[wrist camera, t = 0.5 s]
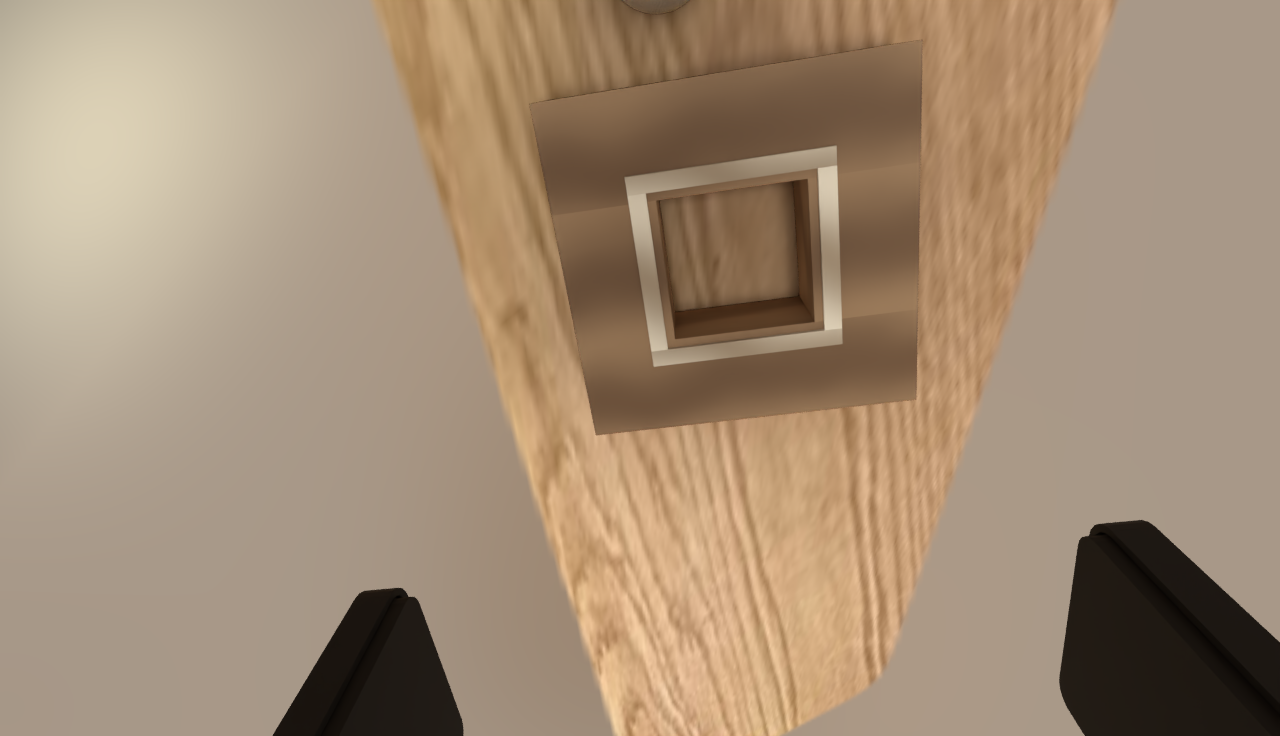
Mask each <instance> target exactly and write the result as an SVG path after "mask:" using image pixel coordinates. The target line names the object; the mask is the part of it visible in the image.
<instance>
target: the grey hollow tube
mask: <svg viewBox="0 0 1280 736" xmlns="http://www.w3.org/2000/svg"><path fill="white" fill-rule="evenodd" d="M623 1H624V2H625V3H626V4H627V5H629V6H630V7H632V8H634V9H636V10H638V11H640V12H643V13H648V14H664V13H668V12H671V11H674V10H676V9H678V8H680V7H681V6H683V5H684V4H685V3H687V2H688V1H689V0H623Z"/></svg>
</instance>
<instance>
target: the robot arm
mask: <svg viewBox="0 0 1280 736" xmlns="http://www.w3.org/2000/svg"><path fill="white" fill-rule="evenodd" d="M1059 683H1060V690H1061V693H1062V697H1063V699H1064V702H1065V704H1066V706H1067V708H1068V709H1069V711H1070V713H1071V715H1072V716H1073V717H1074V719H1075V721H1076V723H1077V724H1078V726H1079V727H1080V729H1081V730H1082V732H1083V734H1084V735H1085V736H1280V642H1279V641H1278V640H1277V639H1275V638H1274V637H1273V636H1272V635H1271V634H1270V633H1269V632H1268V631H1267V630H1266V629H1265V628H1264V627H1262V626H1261V625H1260V624H1259V623H1258V622H1257V621H1256V620H1255V619H1254V618H1253V617H1252V616H1251V615H1250V614H1249V613H1247V612H1246V611H1245V610H1244V609H1243V608H1242V607H1241V606H1240V605H1239V604H1238V603H1237V602H1236V601H1235V600H1233V599H1232V598H1231V597H1230V596H1229V595H1228V594H1227V593H1226V592H1225V591H1224V590H1222V588H1220V587H1219V586H1218V585H1217V584H1216V583H1215V582H1214V581H1213V580H1212V579H1211V578H1210V577H1209V576H1208V575H1207V574H1205V573H1204V572H1203V571H1202V570H1201V569H1200V568H1199V567H1198V566H1197V565H1196V564H1195V563H1194V562H1192V561H1191V560H1190V559H1189V558H1188V557H1187V556H1186V555H1185V554H1184V553H1183V552H1182V551H1181V550H1180V549H1178V548H1177V547H1176V546H1175V545H1174V544H1173V543H1172V542H1171V541H1170V540H1169V539H1168V538H1167V537H1165V536H1164V535H1163V534H1162V533H1161V532H1160V531H1159V530H1158V529H1157V528H1156V527H1155V526H1153V525H1152V524H1151V523H1149V522H1147V521H1143V520H1138V521H1127V522H1115V523H1105V524H1097V525H1094V527H1093V528H1092V529H1091V531H1090V535H1089V536H1085V537H1082V538H1081V539H1080V540H1079V544H1078V549H1077V556H1076V563H1075V571H1074V577H1073V585H1072V592H1071V600H1070V606H1069V613H1068V621H1067V627H1066V635H1065V642H1064V649H1063V656H1062V663H1061V671H1060V679H1059ZM273 736H463V723H462V719H461V716H460V713H459V711H458V708H457V705H456V702H455V700H454V697H453V694H452V692H451V689H450V686H449V683H448V681H447V678H446V675H445V672H444V669H443V667H442V664H441V661H440V659H439V656H438V653H437V650H436V648H435V645H434V642H433V639H432V637H431V634H430V631H429V628H428V626H427V623H426V620H425V617H424V615H423V612H422V609H421V607H420V604H419V602H418V600H417V599H416V598H415V597H408V595H407V593H406V592H405V591H404V590H403V589H402V588H392V589H381V590H370V591H363V592H361V593H359V595H358V596H357V597H356V598H355V600H354V601H353V603H352V605H351V607H350V608H349V610H348V612H347V613H346V615H345V616H344V618H343V620H342V621H341V623H340V625H339V626H338V628H337V630H336V631H335V633H334V635H333V636H332V638H331V640H330V641H329V643H328V645H327V646H326V648H325V650H324V651H323V653H322V654H321V656H320V658H319V659H318V661H317V663H316V665H315V666H314V668H313V670H312V671H311V673H310V674H309V676H308V678H307V679H306V681H305V683H304V684H303V686H302V688H301V689H300V691H299V693H298V694H297V696H296V698H295V699H294V701H293V703H292V704H291V706H290V708H289V709H288V711H287V713H286V714H285V716H284V718H283V719H282V721H281V722H280V724H279V726H278V727H277V729H276V731H275V733H274V734H273Z"/></svg>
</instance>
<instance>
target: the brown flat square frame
mask: <svg viewBox="0 0 1280 736" xmlns="http://www.w3.org/2000/svg"><path fill="white" fill-rule="evenodd" d="M922 47H923V40H917V41H911V42H904V43H897V44H890V45H884V46H878V47H872V48H866V49H860V50H854V51H847V52H841V53H835V54H829V55H823V56H817V57H811V58H805V59H798V60H792V61H786V62H780V63H774V64H768V65H762V66H756V67H749V68H743V69H737V70H731V71H725V72H719V73H713V74H706V75H700V76H694V77H688V78H682V79H676V80H670V81H664V82H657V83H651V84H645V85H639V86H633V87H627V88H621V89H615V90H608V91H602V92H596V93H590V94H584V95H578V96H572V97H566V98H559V99H553V100H547V101H542V102H536V103H531V104H529V105H530V110H531V115H532V120H533V125H534V130H535V135H536V140H537V145H538V150H539V155H540V160H541V165H542V170H543V175H544V180H545V185H546V190H547V195H548V199H549V204H550V209H551V214H552V219H553V224H554V229H555V234H556V239H557V244H558V249H559V254H560V259H561V264H562V269H563V274H564V279H565V284H566V289H567V294H568V299H569V304H570V309H571V314H572V319H573V324H574V329H575V334H576V339H577V344H578V348H579V353H580V358H581V363H582V368H583V373H584V378H585V383H586V388H587V393H588V398H589V403H590V408H591V413H592V418H593V423H594V428H595V433H596V435H603V434H612V433H621V432H630V431H639V430H648V429H657V428H666V427H675V426H684V425H693V424H702V423H711V422H720V421H729V420H738V419H747V418H756V417H765V416H773V415H782V414H791V413H800V412H809V411H818V410H827V409H836V408H845V407H854V406H863V405H872V404H881V403H890V402H899V401H908V400H916V389H917V332H918V275H919V218H920V161H921V104H922ZM788 181H793V189H794V206H795V224H796V242H797V259H798V277H799V295H800V296H797V297H789V298H782V299H774V300H766V301H758V302H751V303H743V304H735V305H727V306H719V307H712V308H704V309H696V310H688V311H681V312H675V311H674V304H673V297H672V289H671V282H670V275H669V267H668V260H667V252H666V245H665V238H664V230H663V223H662V216H661V208H660V201H659V200H664V199H671V198H678V197H685V196H692V195H698V194H705V193H712V192H719V191H726V190H733V189H740V188H747V187H753V186H760V185H767V184H774V183H781V182H788Z"/></svg>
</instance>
